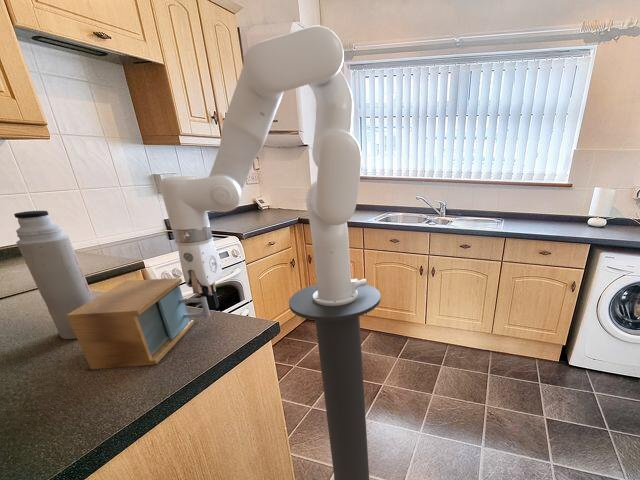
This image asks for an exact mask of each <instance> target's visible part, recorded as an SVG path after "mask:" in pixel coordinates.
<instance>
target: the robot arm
mask: <svg viewBox="0 0 640 480" xmlns="http://www.w3.org/2000/svg"><path fill="white" fill-rule="evenodd" d="M344 58H345V53H344V47H343V43H342V41H341V40H340V38H339V37H338V35H337V34H336V33H335V32H334V31H333V30H332V29H330V28H328V27H327V26H323V25H311V26H308V27H304V28H300V29H298V30H295V31H292V32H288V33H284V34H281V35H277V36H273V37H271V38H267V39H264V40H261V41H259V42H255V43H254V44H252V45H251V46H249V47H248V49H246V51H245V53H244V56H243V61H242V63H243V64H242V67H241V71H240V74H239V77H238V80H237V82H236V85H235V88H234V91H233V93H232V97H231V100H230V103H229V105H228V108H227V110H226V114H225V115H224V119H223V123H222V126H221V137H220V143H219V145H218V149H217V153H216V156H215V159H214V162H213V164H212V167H211V169H210V171H209V176H208V177H201V178H196V177H193V176H167V177H164V178H161V180H160V182H159V189H160V192H161V195H162V198H163V199H162V200H163V204H164V207H165V210H166V213H167V218H168V222H169V225H170V229H171V233H172V235H173V239H174V243H175V245H177V249H178V256H179V262H180V267H181V272H182V275H183V279H184V282H185V285H186V286H187V287H188V288H192V293H193V294H194V295H198V296H199V298H200V297H206V300H207V304H208V308H209V311H214V310H215V311H216V310H217V309H219V307H220V304H219V299H218V295H217V292H216V291H217V288H216V282H217V280H219V278H221V277H222V275H223V268H222V264H221V261H220V257H219V253H218V249H217V247H216V244H215V241H214V236H213V232H212V227H211V223H210V219H209V214H208V212H217V213H227V212H232V211H233V210H235V209H237V208H238V206H239V205H240V203H241V201H242V200H241V199H242V192H243V191H244V187H245V185H246V182H247V179H248V176H249V174H250V172H251V169H252V166H253V164H254V162H255V160H256V158H257V157H258V155H259V154H260V152H261V151H262V149H263V147H264V145H265V143H266V140H267V138H268V134H269V132H270V129H271V127H272V124H273V122H274V119H275V116H276V113H277V111H278V108H279V107H280V103H281V101H282V98H283V96H284V93H285V92H287V91H291V90H294V89H298V88H301V87H304V86H307V85H308V86H309V87H310V89H311V91H312V93H313V95H314V98H315V122H314V134H313V142H312V150H311V153H312V155H311V156H312V160H313V163H314V164H315V166H316V167H317V173H316V174H317V176H316V181H314V182H313V183H312V184H311V185H310V186H309V188H308V189H307V192H306V196H305V197H306V198H305V205H306V211H307V217H308V222H309V225H310V226H309V228H310V233H311V243H312V252H313V253H312V254H313V261H314V271H315V279H316V280H315V281H316V284H317V289H318V290H317V291H316V292H315V293H314V294H313V301H314V302H315V303H317V304H320V305H324V306H339V305H345V304H348V303H351V302H353V301H354V300H356V299H357V297H358V292H357V290H356V289H357V288H358V287H360V286H365V285H368V282H367V279H366V278H362V279H358V278H357V277H356V278H353V279H352V269H351V255H350V239H349V237H350V236H349V228H348V221H349V220H351V218H352V217H353V215H354V214H355V212H356V208H357V203H358V198H359V197H358V196H359V189H360V182H361V173H362V163H363V156H362V149H361V147H360V144H359V142H358V140H357V139H356V137H355V136H354V135H353V134H352V133H353V121H354V120H353V119H354V99H353V93H352V90H351V87H350V85H349V82H348V81H347V78H346V76H345V75H344V73H343V71H342V70H341V69H342V67H343V63H344Z"/></svg>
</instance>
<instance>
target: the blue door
mask: <svg viewBox="0 0 640 480" xmlns="http://www.w3.org/2000/svg"><path fill="white" fill-rule="evenodd" d="M157 302H158V305H159V308H160V311H161V314H162V317H163V320H164V323H165V326H166V329H167V332H168V335H169V338H170V340H171V339H173V338H174V337H175V336H176V335H177V334H178V333H179V332H180V331H181V330H182V329H183V328H184V327H185V326H186V325H187V324H188V323H189V322H190V320H191V319H190V318H206V319H208V318H210V317H212V316H211V315H212V314H211V310H209V308H208V304H207V300H206V297H200V296H199V297H193V298H191V297H190V298H184V296H183V293H182V290H181V287H180V285H179V286H176V287H175V288H174V289H172V290H171V291H170V292H169V293H167V294H166V295H165V296H163V297H162V298H161V299H160V300H158V301H157ZM189 303H201V308H202V311H203V312H188V311H187V308H186V304H189Z"/></svg>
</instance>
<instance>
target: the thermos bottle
mask: <svg viewBox="0 0 640 480" xmlns="http://www.w3.org/2000/svg"><path fill="white" fill-rule="evenodd" d="M13 214H14V217H15V218H16V219H17V223H18V225H19V228H17V229H16V230H15V232H16V234H17V235H16V237H17V238H19V240H17V241H16V242H15V243H16V245H17V247H18V250H19V252H20V254H21V256H22V258H23V260H24V262H25V264H26V267H27V268H28V270H29V272H30V273H29V274H30V275H31V277H32V279H33V281H34V283H35V286H36V287H37V290H38V292H39V294H40V296H41V297H42V300H43V301H44V303H45V306H46V309H47V310H48V312H49V315H50V317H51V319H52V322H53V323H54V325H55V327H56V330H57V331H58V334H59V336H60V338H62V339H64V340H72V339H77V337H76V335H75V333H74V331H73V329H72V326H71V324H70V322H69V320H68V318H67V314H69V313H71V312H72V311H74V310H76V309H78V308H79V307H81V306H83V305H84V304H86V303H88V302H90V301H91V300H93V299H95V298H94V296H93V293H92V291H91V289H90V286H89V284H88V282H87V279H86V276H85V274H84V271H83V269H82V267H81V263H80V261H79V259H78V256H77V254H76V252H75V249H74V247H73V244H72V242H71V239H70V237H69V235H67V234H64V232H63V229H62V228H61V226H60V225H58V224H55V223H53V221H52V218H51V217H50V216H49V212H48V211H47V210H28V211H21V212H16V213H13Z"/></svg>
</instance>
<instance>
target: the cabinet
mask: <svg viewBox="0 0 640 480" xmlns="http://www.w3.org/2000/svg"><path fill="white" fill-rule="evenodd" d="M182 283H183V279H182V277H176V278H173V277H171V278H155V279H154V278H153V279H135V280H134V279H133V280H124V281H122V282H121V283H120V284H117V285H115V286H114V287H112V288H110V289H109V290H107V291H105V292H104V293H101V294H100V295H99V296H97V297H95V298H94V299H93V300H91V301H90V302H88V303H86V304H84V305H83V306H81V307H79V308H78V309H76V310H74V311H72V312H71V313H69V314H67V318H68V320H69V322H70V324H71V326H72V329H73V331H74V333H75V335H76V337H77V338H76V340H77V342H78V344H79V346H80V348H81V351H82V353H83V355H84V358H85V359H86V362H87V363H88V366H89V368H90V370H100V369H112V368H127V367H137V366H138V367H140V366H153V365H154V366H155V365H158V364H159V362H160V361H161V360H162V359H163V358H164V357H165V356H166V354H168V352H169V351H170V350H171V349H172V348H174V346H175V345H176V344H177V342H178V341H179V340H181V338H182V337H183V336H184V335H185V334H186V333H187V332H188V330H189V329H190V328H191V327H192V326H193V325H194V324H195V321H194V319H189V320H190V322H189V323H188V324H187V325H186V326H185V327H184V328H183V329H182V330H181V331H180V332H179V333H178V334H177V335H176V336H175V337H174V338H173V339H171V340H170V338H169V335H168V332H167V329H166V326H165V323H164V320H163V317H162V314H161V311H160V308H159V305H158V302H157V301H158V300H160V299H161V298H162V297H163V296H165V295H166V294H167V293H169V292H170V291H171V290H172V289H174V288H175V287H176V286H180V284H182Z"/></svg>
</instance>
